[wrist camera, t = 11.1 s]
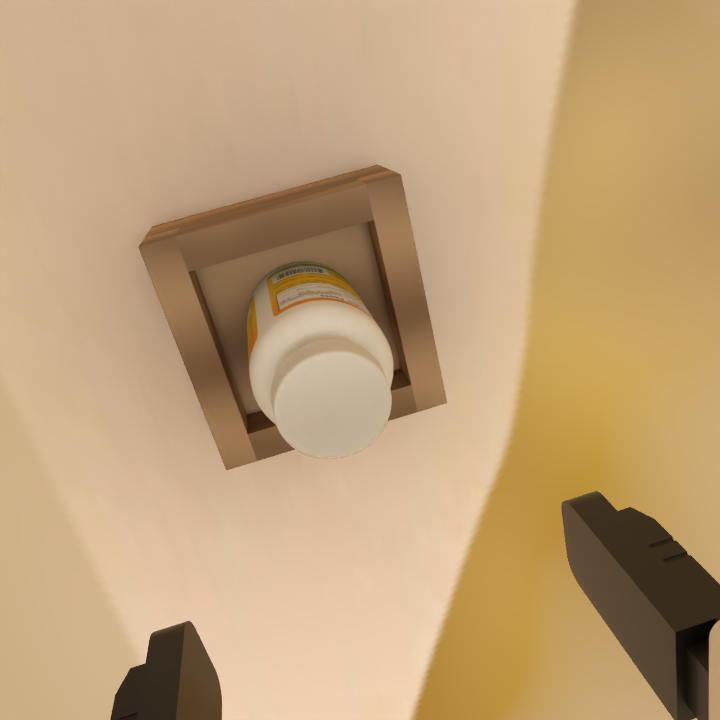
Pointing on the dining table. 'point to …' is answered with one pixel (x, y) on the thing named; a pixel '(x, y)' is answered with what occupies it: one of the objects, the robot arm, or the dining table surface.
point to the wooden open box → (270, 252)
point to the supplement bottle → (318, 361)
